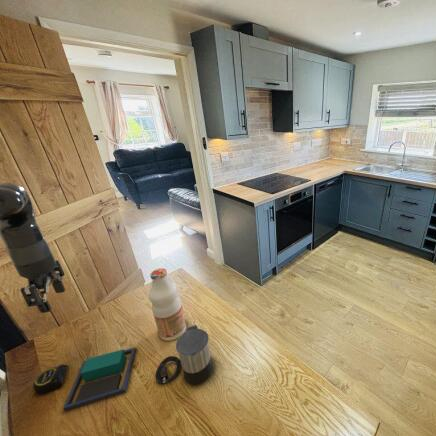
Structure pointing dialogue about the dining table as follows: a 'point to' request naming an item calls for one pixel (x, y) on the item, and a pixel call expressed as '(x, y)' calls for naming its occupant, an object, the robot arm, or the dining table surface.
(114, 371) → the teal pad
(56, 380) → the tape measure
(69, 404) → the dark blue open frame
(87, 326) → the dining table surface
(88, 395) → the black pad
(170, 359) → the milk frother
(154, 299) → the fruit juice
